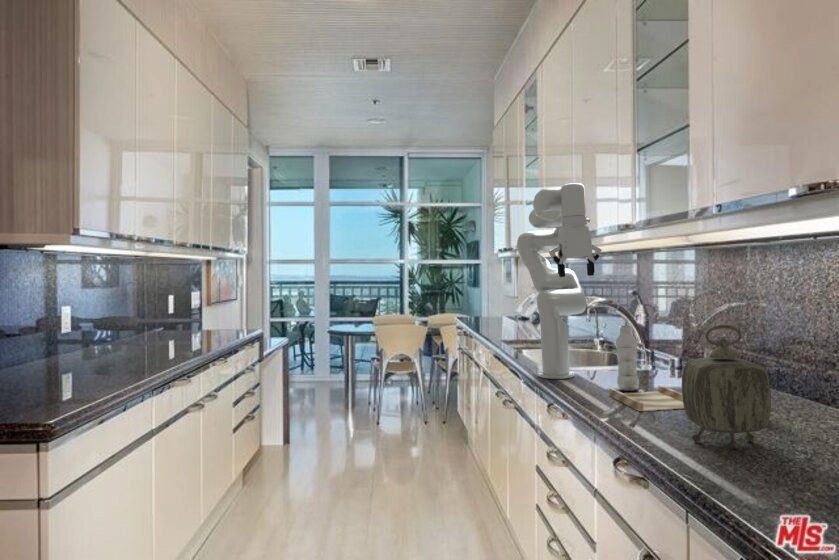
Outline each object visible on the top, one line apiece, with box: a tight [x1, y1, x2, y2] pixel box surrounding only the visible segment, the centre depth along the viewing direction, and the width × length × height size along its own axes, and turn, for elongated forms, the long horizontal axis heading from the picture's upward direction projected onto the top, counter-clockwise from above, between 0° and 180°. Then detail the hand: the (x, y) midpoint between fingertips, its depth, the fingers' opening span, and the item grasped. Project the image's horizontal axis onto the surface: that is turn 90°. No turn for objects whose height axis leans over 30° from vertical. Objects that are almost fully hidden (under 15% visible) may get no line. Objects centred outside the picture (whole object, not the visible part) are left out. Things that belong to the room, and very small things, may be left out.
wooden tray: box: [608, 384, 685, 412], centre depth 150 cm, size 20×16×2 cm
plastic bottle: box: [615, 325, 640, 392], centre depth 165 cm, size 6×7×20 cm
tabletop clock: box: [681, 324, 772, 450], centre depth 110 cm, size 14×9×25 cm, turn 83°
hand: (576, 276), depth 170 cm, fingers open, 9 cm apart
